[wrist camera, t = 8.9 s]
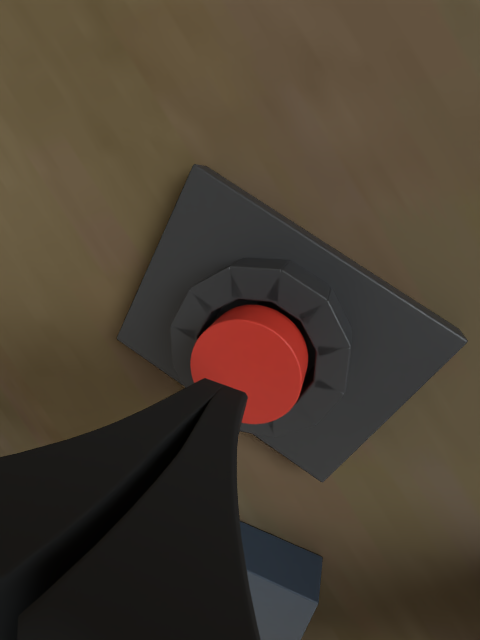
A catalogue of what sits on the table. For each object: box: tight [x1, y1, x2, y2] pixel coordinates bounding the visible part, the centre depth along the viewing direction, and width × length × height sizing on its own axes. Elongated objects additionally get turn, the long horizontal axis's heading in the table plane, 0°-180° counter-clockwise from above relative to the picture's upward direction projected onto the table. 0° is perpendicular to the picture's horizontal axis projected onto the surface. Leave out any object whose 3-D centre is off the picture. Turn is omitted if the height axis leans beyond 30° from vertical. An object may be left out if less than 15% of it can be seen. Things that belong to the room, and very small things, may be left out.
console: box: [240, 521, 322, 640], centre depth 22 cm, size 14×10×3 cm
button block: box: [117, 164, 468, 482], centre depth 15 cm, size 12×9×3 cm
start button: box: [190, 305, 308, 424], centre depth 13 cm, size 4×4×2 cm
